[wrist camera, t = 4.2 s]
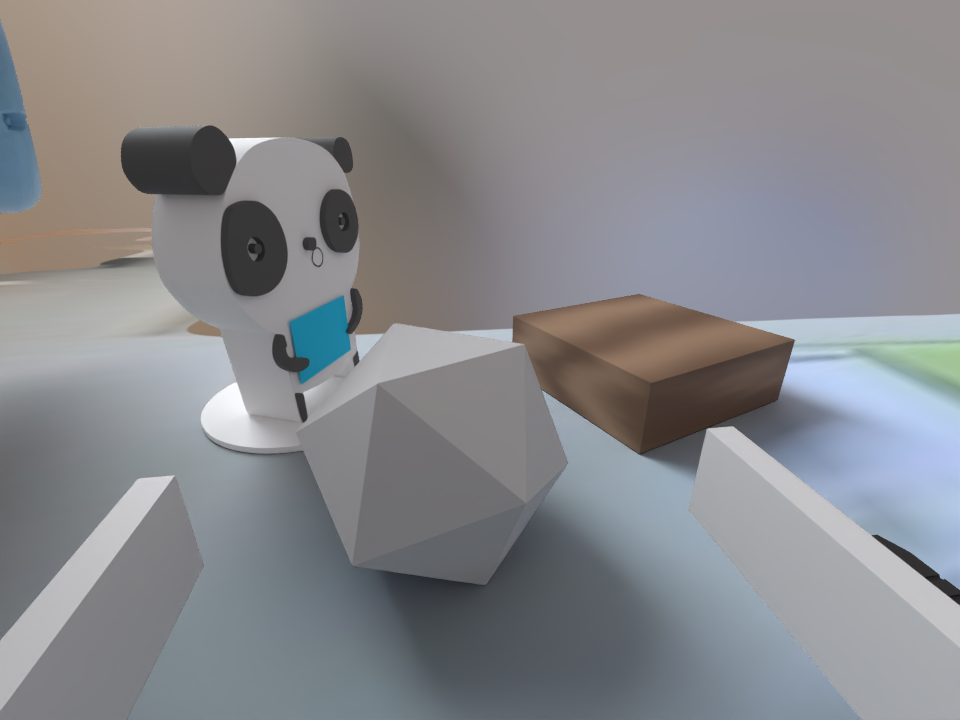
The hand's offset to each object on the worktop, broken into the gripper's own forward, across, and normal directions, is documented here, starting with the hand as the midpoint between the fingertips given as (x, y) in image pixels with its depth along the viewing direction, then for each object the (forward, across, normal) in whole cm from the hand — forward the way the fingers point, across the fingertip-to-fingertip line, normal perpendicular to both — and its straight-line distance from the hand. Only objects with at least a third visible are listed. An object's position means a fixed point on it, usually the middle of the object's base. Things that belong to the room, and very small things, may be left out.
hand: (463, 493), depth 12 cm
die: (+5, 0, -6) cm, 8 cm away
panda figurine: (+17, -8, -6) cm, 20 cm away
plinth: (+16, +14, -6) cm, 22 cm away
